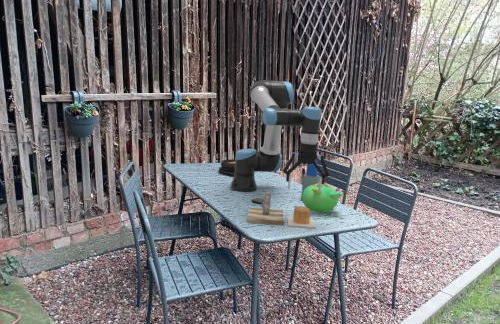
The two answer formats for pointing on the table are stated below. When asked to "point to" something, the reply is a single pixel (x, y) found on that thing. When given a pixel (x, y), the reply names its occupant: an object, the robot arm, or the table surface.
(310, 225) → the pad
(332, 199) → the toy bird
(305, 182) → the spray bottle
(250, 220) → the post base
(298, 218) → the cap
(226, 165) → the casserole
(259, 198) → the weathered bronze handle
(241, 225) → the table surface
